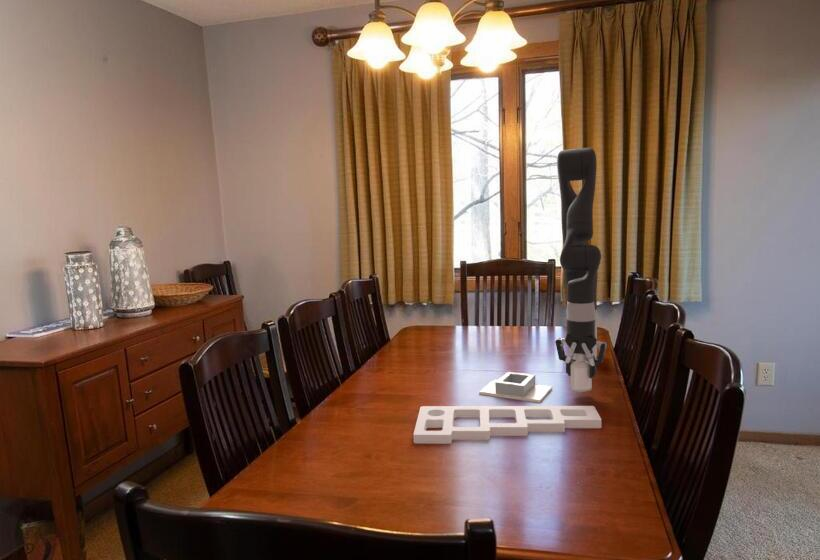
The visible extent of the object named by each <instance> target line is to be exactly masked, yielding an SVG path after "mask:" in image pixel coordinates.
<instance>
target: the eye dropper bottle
mask: <svg viewBox="0 0 820 560" xmlns="http://www.w3.org/2000/svg"><path fill="white" fill-rule="evenodd" d="M585 360H586V354H581V353H576V360H574V361H572V362H573V363H572V364H571V376H570V390H571V391H572V392H576V393H577V392H578V393H582V392H584V393H585V392H588V391H591V390H592V388H593V387H592V386H593V384H592V383H593V382H592V381H593V380H592V378H590V365H591V364H590V362H589V361H585Z"/></svg>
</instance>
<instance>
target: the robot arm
mask: <svg viewBox="0 0 820 560" xmlns="http://www.w3.org/2000/svg"><path fill="white" fill-rule="evenodd" d="M597 166H598V165H597V155H596V152H595V149H594V148H592V147H583V148H582V147H579V148H571V149H563V150H560V151H559V152H558V153H557V157H556V167H557V169H556V171H557V178H558V184H559V193H560V208H561V209H560V211H561V212H560V214H561V215H560V217H561V234H562V241H563V242H562V243H563V247H562V249H561V253H560V255H559V263H560V267H561V268H562V269H563V279H564V280H563V281H564V286H565V288H566V292H567V293H566V297H567V299H566V301H567V302H566V304H567V305H566V312H565V313H566V314H565V317H566V336H565V337H564V338H561V337H558V338H557V339H556V340H555V341H554V342H555V346H556V351H557V355H558V359H559V360H560V361H563V362H565V373H566V374H567V375H568V376H569V377H571V364H572V363H573V362H574V361H577V360H576V353H581V354H586V360H585V361H588V362H590V364H591V365H590V378H592V379H593V378H595V377H596V375H597V365H601V364H602V363H603V362H604V359H605V355H606V350H607V345H608V342H607V341H600V340H597V339H598V337H597V336H598V334H597V333H598V327H597V326H598V325H597V324H598V322H597V321H598V319H597V318H598V314H597V313H598V311H597V310H598V307H597V303H598V302H597V290H598V274H599V273H598V270H599V267H600V265H601V260H602V253H601V250H600V248H599V247H598V246H597V245H594V244H587V243H588V241H591V239H592V238H593V235H594V221H593V220H594V219H593V218H594V217H593V216H594V215H593V214H594V213H593V212H594V211H593V209H594V199H595V193H596V192H595V190H596V184H597V183H596V182H597ZM573 181H576V182H577V181H584V182H583V185H582V187H581V189H580V191H578V194H577V192H575V190H574V188H573V186H572V183H571V182H573ZM565 345H567V346H568V353H567V355H566V353H565V348H564V346H565ZM597 349H598V350H597ZM597 351H599V353H598V352H597ZM597 354H598V355H597ZM597 356H598V357H597ZM572 360H573V361H572Z"/></svg>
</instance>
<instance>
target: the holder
mask: <svg viewBox="0 0 820 560" xmlns="http://www.w3.org/2000/svg"><path fill="white" fill-rule="evenodd" d="M455 418H479V422H480V423H479V426H454V423H455ZM491 418H514V419H515V422H514V423H513V422H512V423H506V422H505V423H504V422H502V423H499V422H497V423H494V422H493V423H492V422H490V419H491ZM528 418H549V419H528ZM429 428H430V429H432V428H433V429H435V428H437V429H440V428H442V429H441V430H427V429H429ZM601 428H602V418H601V416H600V414H599V413H598V410H597V409H596V407H595V406H594V405H481V406H480V405H477V406H476V405H471V406H470V405H466V406H465V405H458V406H457V405H453V406H452V405H451V406H450V405H447V406H446V405H440V406H439V405H438V406H437V405H431V406H430V405H425V406H424V405H423V406H420V408H419V412H418V415H417V419H416V422H415V427H414V431H413V444H432V445H433V444H437V445H438V444H441V445H442V444H444V445H445V444H446V445H447V444H448V445H449V444H452V443H453V442H452V441H453V440H462V441H464V440H468V441H470V440H472V441H473V440H479V441H480V440H481V441H483V440H485V441H489V440H491V436H492V437H493V436H497V437H499V436H501V437H505V436H509V437H510V436H511V437H514V436H515V437H516V436H517V437H521V436H522V437H527V436H528V435H529V433H565V432H566V429H601Z"/></svg>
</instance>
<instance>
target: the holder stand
mask: <svg viewBox="0 0 820 560" xmlns="http://www.w3.org/2000/svg"><path fill="white" fill-rule="evenodd" d="M552 390H553V386H550V385H542V384H536V374H529V373H522V372H513V371H507V372H506V373H505V374H503V375H502V376H501V377H500V378H498V379H496V378H495V379H492V381H490V382H489V383H487V385H485V386H484V387H483V388H481V390H479V392H478V393H479V395H481V396H483V395H484V396H489V397H490V396H491V397H497V398H502V399H510V400H517V401H518V400H519V401H524V402H532V403H537V404H541V403H542V401H543V400H544V399H545V398H546V397H547V396H548V395H549V393H550V392H551V391H552Z"/></svg>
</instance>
